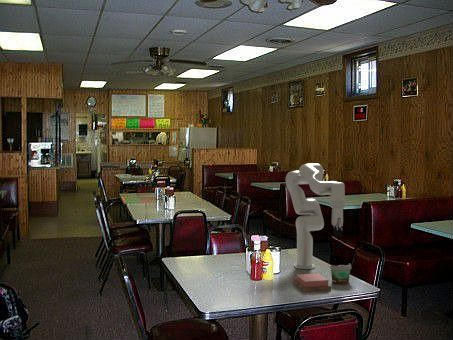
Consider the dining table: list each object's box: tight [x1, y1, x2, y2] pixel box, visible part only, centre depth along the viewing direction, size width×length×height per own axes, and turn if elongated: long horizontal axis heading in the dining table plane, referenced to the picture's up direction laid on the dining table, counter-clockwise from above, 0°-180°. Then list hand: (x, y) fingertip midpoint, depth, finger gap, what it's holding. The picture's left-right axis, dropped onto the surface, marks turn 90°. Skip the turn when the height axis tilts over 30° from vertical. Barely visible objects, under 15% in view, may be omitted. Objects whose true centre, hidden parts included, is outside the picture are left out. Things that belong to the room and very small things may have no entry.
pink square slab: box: [295, 272, 329, 287], centre depth 258 cm, size 13×13×3 cm
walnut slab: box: [293, 278, 332, 293], centre depth 258 cm, size 15×15×3 cm
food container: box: [329, 263, 352, 285], centre depth 265 cm, size 12×6×10 cm, turn 105°
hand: (337, 236), depth 265 cm, fingers open, 9 cm apart
